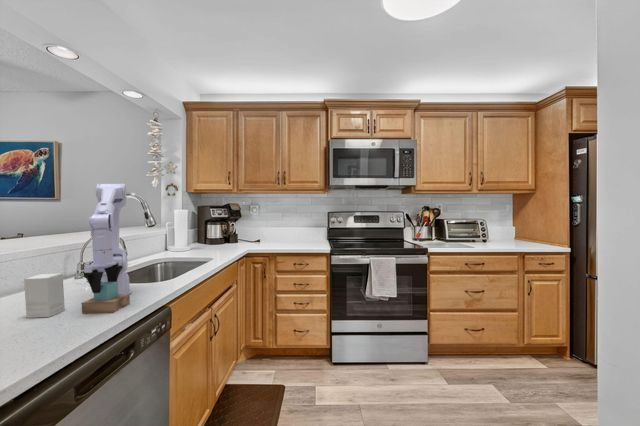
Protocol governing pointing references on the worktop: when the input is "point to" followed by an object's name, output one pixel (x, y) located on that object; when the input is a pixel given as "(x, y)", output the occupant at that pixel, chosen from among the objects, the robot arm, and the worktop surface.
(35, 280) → the supplement box
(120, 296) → the walnut block
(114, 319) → the worktop surface
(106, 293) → the teal cube
